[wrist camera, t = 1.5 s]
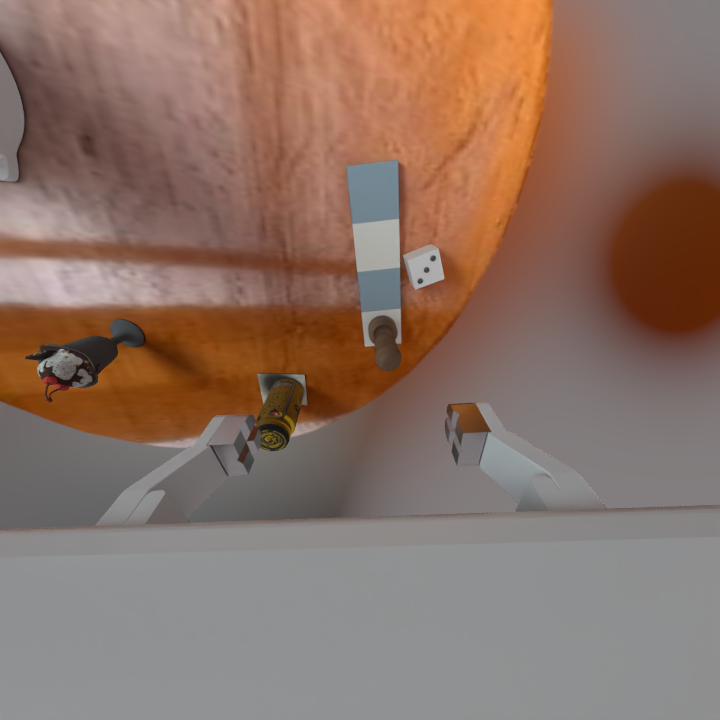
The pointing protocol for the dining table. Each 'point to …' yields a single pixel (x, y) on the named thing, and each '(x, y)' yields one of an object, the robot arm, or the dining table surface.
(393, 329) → the pawn
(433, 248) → the die
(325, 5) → the dining table surface
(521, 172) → the dining table surface
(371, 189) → the board
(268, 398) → the condiment
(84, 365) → the sundae
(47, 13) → the dining table surface
